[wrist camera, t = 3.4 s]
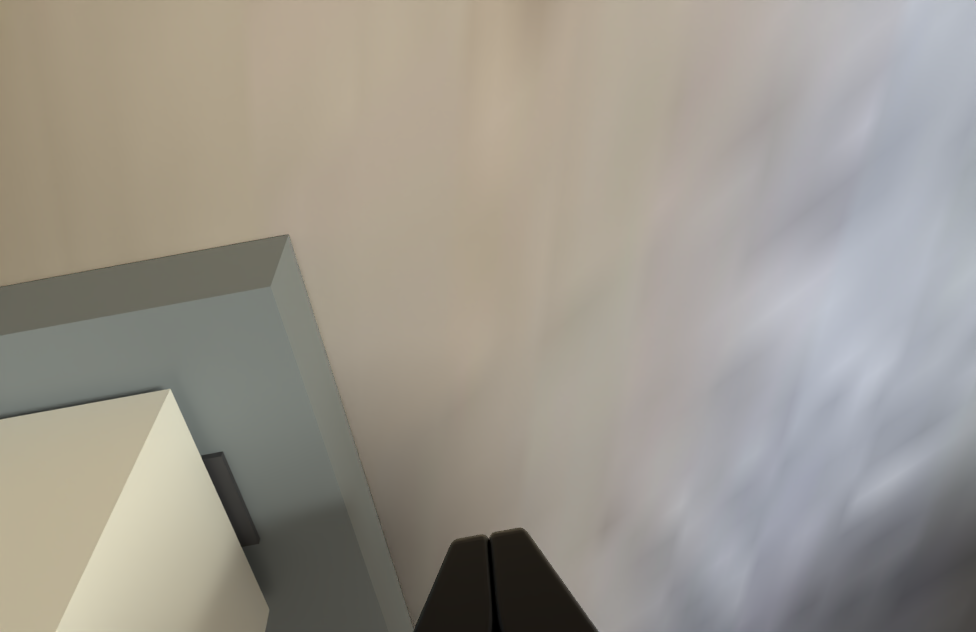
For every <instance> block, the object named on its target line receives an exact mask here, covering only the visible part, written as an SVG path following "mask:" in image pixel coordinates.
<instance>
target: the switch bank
mask: <svg viewBox="0 0 976 632" xmlns="http://www.w3.org/2000/svg"><path fill="white" fill-rule="evenodd" d="M166 389H171V391H172V393H173V396H174V398H175V400H176V402H177V405H178V407H179V409H180V411H181V414H182V416H183V418H184V420H185V422H186V425H187V427H188V429H189V431H190V434H191V436H192V438H193V440H194V442H195V445H196V447H197V449H198V451H199V454H200V456H201V458H202V460H203V463H204V465H205V467H206V469H207V471H208V474H209V476H210V478H211V480H212V483H213V485H214V487H215V489H216V492H217V494H218V496H219V498H220V500H221V503H222V505H223V507H224V509H225V512H226V514H227V516H228V518H229V520H230V523H231V525H232V527H233V529H234V532H235V534H236V536H237V538H238V541H239V543H240V545H241V547H242V549H243V552H244V554H245V556H246V558H247V561H248V563H249V565H250V567H251V570H252V572H253V574H254V576H255V578H256V581H257V583H258V585H259V587H260V590H261V592H262V594H263V596H264V598H265V601H266V603H267V605H268V607H269V614H268V620H267V625H266V630H265V632H413V631H414V629H413V626H412V623H411V620H410V616H409V613H408V610H407V607H406V604H405V601H404V597H403V594H402V591H401V588H400V585H399V582H398V578H397V575H396V572H395V569H394V566H393V563H392V560H391V556H390V553H389V550H388V547H387V544H386V541H385V537H384V534H383V531H382V528H381V525H380V522H379V518H378V515H377V512H376V509H375V506H374V503H373V500H372V496H371V493H370V490H369V487H368V484H367V481H366V477H365V474H364V471H363V468H362V465H361V462H360V458H359V455H358V452H357V449H356V446H355V443H354V440H353V436H352V433H351V430H350V427H349V424H348V421H347V417H346V414H345V411H344V408H343V405H342V402H341V398H340V395H339V392H338V389H337V386H336V383H335V380H334V376H333V373H332V370H331V367H330V364H329V361H328V357H327V354H326V351H325V348H324V345H323V342H322V338H321V335H320V332H319V329H318V326H317V323H316V320H315V316H314V313H313V310H312V307H311V304H310V301H309V297H308V294H307V291H306V288H305V285H304V282H303V279H302V275H301V272H300V269H299V266H298V263H297V260H296V256H295V253H294V250H293V247H292V244H291V241H290V237H289V235H283V236H278V237H272V238H267V239H261V240H256V241H250V242H245V243H239V244H234V245H229V246H223V247H218V248H212V249H207V250H201V251H196V252H190V253H185V254H179V255H174V256H168V257H163V258H157V259H152V260H146V261H141V262H135V263H130V264H124V265H119V266H114V267H108V268H103V269H97V270H92V271H86V272H81V273H75V274H70V275H64V276H59V277H53V278H48V279H42V280H37V281H31V282H26V283H20V284H15V285H10V286H4V287H0V419H6V418H11V417H17V416H22V415H28V414H33V413H39V412H44V411H50V410H55V409H61V408H67V407H72V406H78V405H83V404H89V403H94V402H100V401H105V400H111V399H116V398H122V397H127V396H133V395H138V394H144V393H149V392H155V391H160V390H166Z"/></svg>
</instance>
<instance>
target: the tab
mask: <svg viewBox="0 0 976 632" xmlns="http://www.w3.org/2000/svg"><path fill="white" fill-rule="evenodd" d="M268 614H269V607H268V605H267V603H266V601H265V598H264V596H263V594H262V592H261V590H260V587H259V585H258V583H257V581H256V578H255V576H254V574H253V572H252V570H251V567H250V565H249V563H248V561H247V558H246V556H245V554H244V552H243V549H242V547H241V545H240V543H239V541H238V538H237V536H236V534H235V532H234V529H233V527H232V525H231V523H230V520H229V518H228V516H227V514H226V512H225V509H224V507H223V505H222V503H221V500H220V498H219V496H218V494H217V492H216V489H215V487H214V485H213V483H212V480H211V478H210V476H209V474H208V471H207V469H206V467H205V465H204V463H203V460H202V458H201V456H200V454H199V451H198V449H197V447H196V445H195V442H194V440H193V438H192V436H191V434H190V431H189V429H188V427H187V425H186V422H185V420H184V418H183V416H182V414H181V411H180V409H179V407H178V405H177V402H176V400H175V398H174V396H173V393H172V391H171V389H166V390H160V391H155V392H149V393H144V394H138V395H133V396H127V397H122V398H116V399H111V400H105V401H100V402H94V403H89V404H83V405H78V406H72V407H67V408H61V409H55V410H50V411H44V412H39V413H33V414H28V415H22V416H17V417H11V418H6V419H0V632H265V630H266V625H267V620H268Z"/></svg>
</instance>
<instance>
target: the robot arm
mask: <svg viewBox="0 0 976 632" xmlns="http://www.w3.org/2000/svg"><path fill="white" fill-rule="evenodd" d="M413 632H598V630H597V629H596V627H595V626H594V625H593V623H592V622H591V620H590V619H589V618H588V616H587V615H586V613H585V612H584V611H583V609H582V608H581V606H580V605H579V604H578V602H577V601H576V599H575V598H574V597H573V595H572V594H571V592H570V591H569V590H568V588H567V587H566V585H565V584H564V583H563V581H562V580H561V578H560V577H559V576H558V574H557V573H556V571H555V570H554V569H553V567H552V566H551V564H550V563H549V562H548V560H547V559H546V557H545V556H544V555H543V553H542V552H541V550H540V549H539V548H538V546H537V545H536V543H535V542H534V541H533V539H532V538H531V536H530V535H529V534H528V532H527V531H526V530H524V529H523V528H515V529H509V530H504V531H498V532H494V533H492V534H491V535H490V538H488V537H487V536H486V535H476V536H470V537H465V538H459V539H456V540H454V541H453V542H452V543H451V545H450V547H449V549H448V552H447V554H446V556H445V559H444V561H443V563H442V566H441V568H440V570H439V573H438V575H437V577H436V580H435V582H434V584H433V587H432V589H431V591H430V594H429V596H428V598H427V601H426V603H425V605H424V608H423V610H422V612H421V615H420V617H419V619H418V622H417V624H416V626H415V629H414V631H413Z"/></svg>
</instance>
